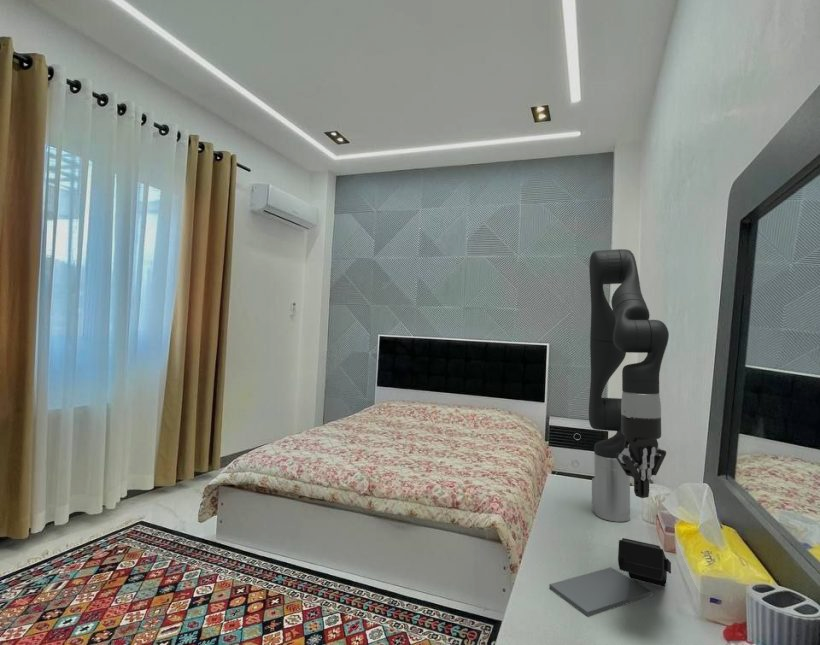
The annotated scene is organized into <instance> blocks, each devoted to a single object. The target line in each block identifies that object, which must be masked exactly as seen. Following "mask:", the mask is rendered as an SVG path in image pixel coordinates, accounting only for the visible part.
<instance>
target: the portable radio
mask: <svg viewBox="0 0 820 645" xmlns="http://www.w3.org/2000/svg"><path fill="white" fill-rule="evenodd" d="M617 554H618V556H617V564H618V567H619V568H618V570H620V571H621V572H625V573H627V574H628V577H629V578H631V579H633V580H635V581H640V582H644V583H648V584H652V585H656V586H660V587H663V588H665V587H666V584H667V577H668V576H667V575H668V573H669V574H671V573H672V562H671V561H670V560H669V559H668V558H667V557H666V555H665V552H664V549H663V548H661V547H660V545H658V544H653V543H648V542H642V541H640V540H633V539H629V538H625V537H623V538H621V539H618V551H617Z"/></svg>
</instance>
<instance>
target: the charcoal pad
mask: <svg viewBox="0 0 820 645" xmlns="http://www.w3.org/2000/svg"><path fill="white" fill-rule="evenodd" d="M548 585H549V586H548V587H549V589H550V591H552V590H553V591H552V592H553V593H555V592H556V593H555V594H557V595H558V594H559V595H560V596H559V595H558V596H559V597H560V598H562V599H563V598H564V599H563V600H565V602H567V603H569V605H571V604H572V605H571V606H573V607H574V608H575V609H576V610H578V611H579V612H581V613H582V614H584V615H585V616H586V617H590V616H593V615H597V614H600V613H603V612H606V611H609V610H612V609H614V607H615V608H618V607H621V606H624V605H627V604H626V603H628V604H631V603H634V602H636V601H639V600H642V599H645V598H648V597H652V596H653V593H654V591H653V590H652V589H650V588H648V587H647V586H645V585H643V584H641V583H639V581H638V582H637V580H635V579H632V578H630V576H628V575H626V574H624V573H622V572H620V571H618V570H617V569H615V568H614V567H612V566H609V567H605V568H603V569H599V570H596V571H595V570H594V571H592V572H589V573H585V574H581V575H578V576H574V577H570V578H567V579H563V580H559V581H556V582H553V583H549V584H548ZM630 602H631V603H630ZM623 604H624V605H623ZM620 605H621V606H620ZM617 606H618V607H617Z"/></svg>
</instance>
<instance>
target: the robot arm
mask: <svg viewBox="0 0 820 645" xmlns="http://www.w3.org/2000/svg"><path fill="white" fill-rule="evenodd" d="M588 264H589V265H588V266H589V267H588V269H589V291H590V332H589V334H590V335H589V340H590V341H589V352H590V354H589V355H590V356H589V357H590V359H589V360H590V385H589V386H590V387H589V400H588V421H589V422H588V423H589V425H590V428H592V429H593V430H595V431H596V430H597V431H608V432H609V431H611V432H616V433H615V434H614V435H613V436H611V437H609V438H606V439H603V440H599V441H597V442H595V443H594V448H593V450H594V454H593V455H594V456H593V457H594V458H593V461H594V477H592V478H591V511H592V512H593V513H594V514H595V515H596V516H597V517H599V519H600V518H601V519H602V520H605V521H606V520H607V521H609V522H617V523H619V522H623V523H625V522H627V521H629V520H631V478H633V492H634V495H635V497H638V498H640V499H645V498H649V496H650V495H649V494H650V481H651V479H652V477H653V476H657V474H658V473H659V470H660V469H661V465H662V464H663V462H664V460H665V458H666V456H667V451H666V450H664V449H661V448H660V447H659V442H658V439H661V438H662V401H661V397H660V395H661V394H660V371H661V368H662V364H663V363H662V362H663V359H664V355H665V351H666V348H667V346H668V341H669V339H670V338H669V336H670V334H669V329H668V327H667V325H666V324H665V323H664V322H663V321H661V320H660V319H650V316H651V315H650V311H649V308H648V306H647V303H646V301H645V299H644V297H643V294H642V290H641V289H642V288H641V283H640V277H639V271H638V266H637V261H636V257H635V254H634V253H633V252H632V251H631V250H629V249H623V248H621V249H604V250H594V251H592V253H591V255H590V257H589V263H588ZM619 284H620V285H619ZM604 285H618V287H617V288H616V289H615V291H614V293H613V294H612V297H611V301H610V302H611V303H609V302H608V299H607V298H606V295H605V291H604ZM610 304H611V305H610ZM627 353H628V354H629V353H631V354H632V353H644V354H645V353H646V357H645V358H644V359H643V360H642V361H639V362H636V363H635V362H634V363H630V364H629V363H628V364H627V365H624V366H623V367H622V371H621V372H622V373H621V374H622V375H621V377H622V378H621V380H622V381H621V382H622V384H621V385H622V388H621V390H622V391H621V398H617V397H615V398H614V397H602V396H603V392H604V390H605V387H606V385H607V383H608V382H609V381H610V379H611V377H612V376H613V375H614V374H615V372H616V371H617V369H618V368H619V367H620V366H621V364H622V363H623V362H624V360H625V358H626V356H627Z"/></svg>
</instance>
